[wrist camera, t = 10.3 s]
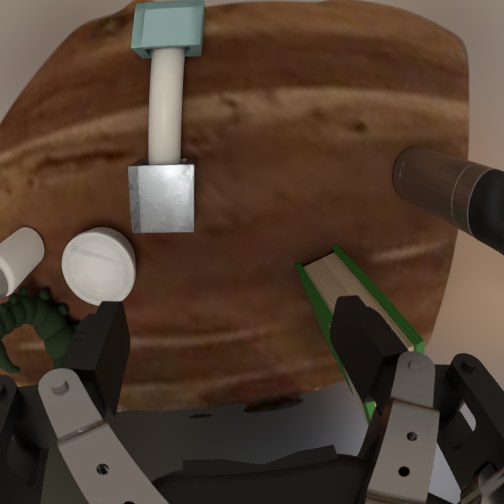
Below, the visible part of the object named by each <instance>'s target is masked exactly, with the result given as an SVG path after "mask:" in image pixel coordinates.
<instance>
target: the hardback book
mask: <svg viewBox="0 0 504 504" xmlns="http://www.w3.org/2000/svg"><path fill="white" fill-rule="evenodd" d="M332 250H333V253H332V254H330V255H328V256H326V257H324V258H321V259H319V260H317V261H315V262H313V263H311V264H309V265H307V266H305V267H303V266H302V265H301V263H300V262H299V263H297V264H295V267H296V270H297V272H298V274H299V277H300V279H301V282H302V284H303V286H304V289H305V291H306V294H307V296H308V299H309V301H310V304H311V306H312V308H313V311H314V313H315V316H316V318H317V321H318V323H319V326H320V328H321V331H322V333H323V336H324V338H325V341H326V343H327V344H328V346H329V348H330V350H331V352H332V354H333V356H334V358H335V360H336V362H337V364H338V366H339V368H340V370H341V372H342V374H343V376H344V378H345V380H346V382H347V384H348V386H349V388H350V390H351V392H352V394H353V395H354V397H355V400H356V402H357V404H358V406H359V408H360V410H361V412H362V414H363V416H364V418H365V420H366V422H367V424H368V426H369V423H370V420H371V417H372V414H373V411H374V409H375V407H376V403H375V402H374V401H373V402H369V403H364V404H363V403H362V401H361V399H360V397H359V396H358V394H357V392H356V390H355V388H354V386H353V384H352V382H351V380H350V378H349V376H348V374H347V372H346V370H345V368H344V367H343V365H342V363H341V361H340V359H339V357H338V355H337V353H336V351H335V349H334V348H333V346H332V344H331V341H330V326H331V322H332V318H333V313H334V309H335V304H336V300H337V298H338V297H339V296H352V295H358V296H359V297H360V298H361V300H362V301H363V302H364V303H365V305H366V306H367V307H371V308H373V309H374V310H376V311H377V312H379V313H380V314H381V315H382V317H383V318H384V319H385V320H386V323H388V324H389V325H390V327H391V329H392V330H393V331H394V332H395V333H396V334H397V336H398V337H399V338H400V339H401V341H402V342H403V343H404V345H405V346H406V347H407V348H408V350H409V351H416V352H420V353H422V354H424V340H423V339H422V338H421V336H420V335H419V334H418V333H417V332H416V331H415V329H414V328H413V327H412V326H411V325H410V324H409V322H408V321H407V320H406V319H405V318H404V317H403V316H402V314H401V313H400V312H399V311H398V310H397V309H396V308H395V306H394V305H393V304H392V303H391V302H390V301H389V300H388V299H387V298H386V296H385V295H384V294H383V293H382V292H381V291H380V290H379V289H378V288H377V287H376V285H375V284H374V283H373V282H372V281H371V280H370V279H369V278H368V277H367V276H366V275H365V274H364V273H363V271H362V270H361V269H360V268H359V267H358V266H357V265H356V264H355V263H354V262H353V261H352V260H351V259H350V258H349V257H348V256H347V255H346V254H345V253H344V252H343V250H342V249H341V248H340V247H339V246H338V245H335V246H333V247H332Z"/></svg>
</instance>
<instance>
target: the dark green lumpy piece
mask: <svg viewBox="0 0 504 504" xmlns="http://www.w3.org/2000/svg"><path fill="white" fill-rule="evenodd" d="M18 293H19V295H18V294H17V293H13V294H12V295H11V296H10V297H9V301H7V302H6V303H2V304H1V305H0V339H2V338H3V337H4V335H7V334H10V333H11V332H12V331H13V329H14V328H18V327H20V326H22V324H30V325H31V326H33V327H34V329H35V332H36V334H37V335H38V336H39V337H40V338H41V339H42V340H44V345H45V348H46V351H47V353H48V354H49V355H50V357H51V358H53V359H54V364H53V370H55V369H59V367H60V364H61V362H62V360H63V358H64V355H65V353H66V351H67V349H68V347H69V344H70V342H71V341H72V338H73V336H74V334H75V333H76V330H77V328H78V326H79V324H74V325H72V326H70V325H68V324H66V319H65V317H64V316H66V315H67V314H68V308H67V306H66V305H64V304H61V305H60V306H58V307H57V308H55V307H53V306H50V305H49V303H48V302H47V301H48V300H49V297H50V294H49V292H48V291H47V290H41V291H40V292H39V294H38V297H33V298H32V297H30V296H28V289H27V288H26V287H24V286H21V287H20V288H19V290H18ZM0 368H2V369H3V370H4V371H7V372H9V373H18V372H20V368H19V367H17V366H15V365H13V364H12V362H11V361H10V359H9V358H8V355H7V353H6V349H5V346H4V344H3V342H2V341H1V340H0Z"/></svg>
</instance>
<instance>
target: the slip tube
mask: <svg viewBox="0 0 504 504" xmlns="http://www.w3.org/2000/svg"><path fill="white" fill-rule="evenodd" d="M184 60H185V47H169V48H153V50H152V62H151V77H150V97H149V137H148V156H149V165H153V164H181V118H182V93H183V75H184Z"/></svg>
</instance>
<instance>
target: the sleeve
mask: <svg viewBox="0 0 504 504" xmlns="http://www.w3.org/2000/svg"><path fill="white" fill-rule="evenodd" d="M128 175H129V196H130V212H131V225H132V233H150V232H194V227H195V217H196V158H181V164H153V165H149V159H143V160H138V161H137V162H135V163H134V164H132V165H130V166H129V167H128Z"/></svg>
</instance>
